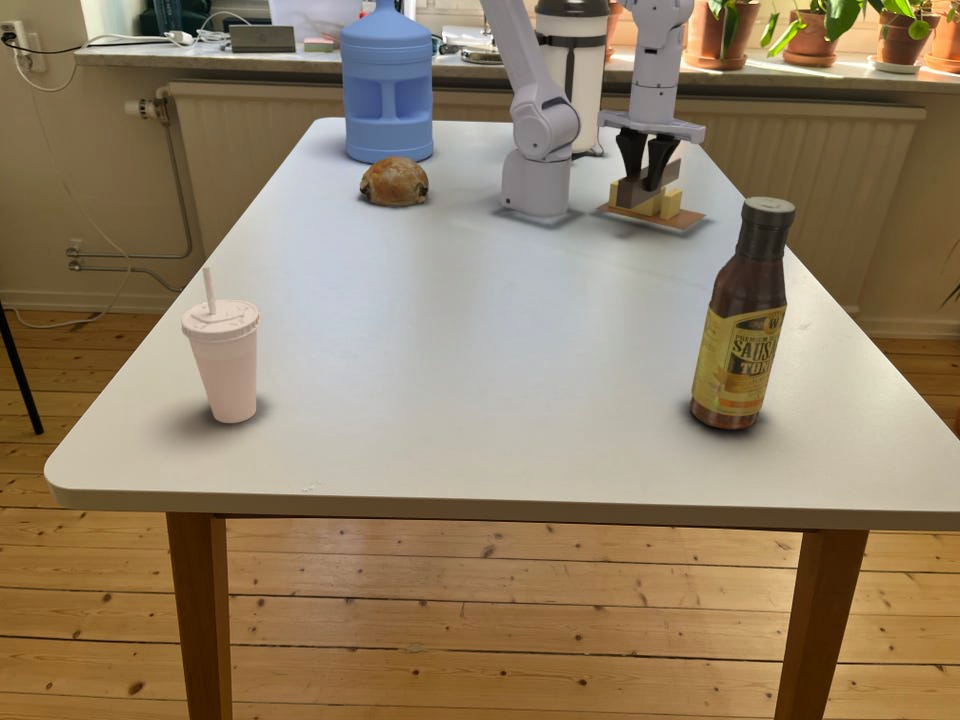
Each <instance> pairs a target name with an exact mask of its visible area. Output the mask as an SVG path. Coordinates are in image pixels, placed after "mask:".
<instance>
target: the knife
mask: <svg viewBox="0 0 960 720" xmlns="http://www.w3.org/2000/svg"><path fill="white" fill-rule="evenodd" d="M681 164H682V158H681V157H678V158H676V159H674V160H672V161H671V162H668V163H667V165H666V167H665V169H664V171H663V173H662V176H661V179H660V181H659V184H658V188H657V189H656V190H654V191H652V192H647V191H646V182H647V175H648V165H647V166H645V167H643V168H641V170H639V171H636V172H634V173H632V174H630V175H628V176H626V175H625V176H624V178H623V177H621V178H622V179H621V178H619V179H620V180H619V179H617V180H618V189H617V198H616V206H618V207H622V208H627V209H632V208H634V207H636V206H637V205H639V204H641V203H643V202H645V201H647V200H648V199H650V198H652V197H654V196H656V195H657V194H659V193H660V192H661V188H662V187H664V186H668V185H669V184H671V183H673V182H675V181H676V180H678V179H679V177H680V170H681Z"/></svg>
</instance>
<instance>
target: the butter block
mask: <svg viewBox="0 0 960 720" xmlns="http://www.w3.org/2000/svg"><path fill="white" fill-rule="evenodd" d="M624 177H625V176H624ZM624 177H621V178H619V179H617V180H615V181H613V182H611V183H610V184H609V185H610V186H609V195H608V202H609V204H608V206H609V207H614V208H618V209H622V210H626V211H630V212H635V213H639V214H643V215H647V216H652V215H654V214H656V213H658V212H659V211H661V208H662V201H663V195H665V194H666V189H667V185H665V186H664V187H662V188H661V192H660V193H659V194H657V195H656V196H654V197H652V198H650V199H648V200H647V201H645V202H643V203H641V204H639V205H637V206H636V207H634V208H632V209H627V208H622V207H618V206H616V198H617V189H618V180H620V179H622V178H624Z"/></svg>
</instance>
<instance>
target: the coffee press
mask: <svg viewBox="0 0 960 720" xmlns="http://www.w3.org/2000/svg"><path fill="white" fill-rule="evenodd" d="M533 10H534V14H535V19H536V20H535V29H533V30H534V32H535V35H536V38H537V41H538V43H539V46H540V49H541V52H542V54H543V57H544V60H545V63H546V66H547V68H548V71H549V74H550V77H551V79H552V80H553V81H554V82H556V83H557V84H558V85H559V86H560V87H561V88H563V89H564V91H565V94H566V96H567V99H568V100H569V102H570V103H571V104H572V105H573V106H574V107H575V108H576V109H577V111H578V112H579V114H580V117H581V124H582V126H581V132H580V134H579V136H578V138H577V139H576V140H575V141H574V142H573V143H572V154H580V153H584V152H588V151H589V150H590V151H591V152H593V153H594V155H595V156H597V157H601V156H603V155H604V148H603V146H602V145H601V143H600V140H599V136H600V135H599V134H600V127H598V126H597V116H598V112H599V111H602V101H603V92H604V91H603V89H604V79H605V78H604V77H605V68H606V56H607V47H608V45H607V44H608V34H609V32H608V31H607V29H608V19H609V17H610V15H611V14H612V13H611V11H612V9H611V7H609V1H608V0H538V1H537V4H536V5H534V9H533ZM512 91H513V90H512ZM513 98H514V91H513V95H512V99H513ZM597 142H598V146H599V147H600V148H601V152H599V153H597V152H596V150H595V149H594V147H595V145H596V143H597Z"/></svg>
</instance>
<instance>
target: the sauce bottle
mask: <svg viewBox="0 0 960 720" xmlns="http://www.w3.org/2000/svg"><path fill="white" fill-rule="evenodd" d="M740 211H741V212H740V217H741V225H740V229H739V233H738V239H737V243H736V244H735V249H734V254H733V255H732V256H731V257H730V259H729V260H727V262H726V263H725V264H724V266H722V267H721V268H720V270H718V273H717V274H716V277H715V280H714V283H713V288H712V293H711V297H710V300H709V302H708V307H707V313H706V316H705V322H704V326H703V332H702V336H701V342H700V346H699V350H698V355H697V360H696V366H695V370H694V376H693V381H692V385H691V389H690V390H691V395H692V396H691V399H690V401H689V406H690V407H689V408H690V411H691V413H692V415H693V416H694V417H695V418H696V419H698V420H699V421H700V422H702V423H703V424H704V425H707V426H709V427H714V428H718V429H721V430H730V431H731V430H732V431H733V430H734V431H735V430H742V429H743V430H744V429H746V428H749V427H750V426H751V425H753V424H754V423H755V422H756V420H757V418H758V417H759V414H760V411H761V410H762V408H763V405H764V400H765V396H766V393H767V388H768V385H769V380H770V375H771V372H772V368H773V364H774V361H775V357H776V352H777V348H778V344H779V341H780V336H781V332H782V327H783V324H784V320H785V316H786V312H787V309H788V299H787V294H786V281H785V270H784V257H785V248H786V243H787V240H788V235H789V230H790V228H791V227H792V225H793V224H794V221H795V216H796V211H797V209H796V206H795V205H794V204H793V203H792V202H790V201H788V200H784V199H782V198H776V197H775V198H774V197H771V196H770V197H769V196H751V197H747V198H745V199H744V201H743V203H742V207H741V210H740Z"/></svg>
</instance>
